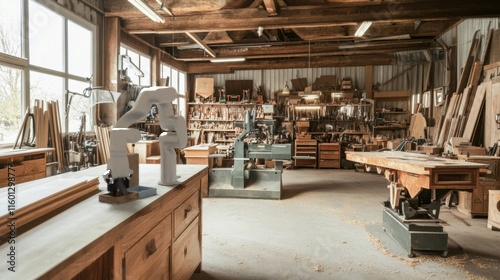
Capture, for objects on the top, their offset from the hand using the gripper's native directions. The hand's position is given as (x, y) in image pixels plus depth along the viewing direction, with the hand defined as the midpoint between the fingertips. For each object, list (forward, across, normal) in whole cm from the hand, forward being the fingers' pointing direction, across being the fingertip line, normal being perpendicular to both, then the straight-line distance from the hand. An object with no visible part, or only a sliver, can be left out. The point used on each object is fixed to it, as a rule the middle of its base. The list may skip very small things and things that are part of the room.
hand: (118, 189), depth 153 cm
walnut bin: (+5, 0, 0) cm, 5 cm away
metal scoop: (+5, -6, -11) cm, 14 cm away
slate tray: (+5, -13, 0) cm, 14 cm away
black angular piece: (+5, 0, 0) cm, 5 cm away
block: (+5, -20, -16) cm, 26 cm away
